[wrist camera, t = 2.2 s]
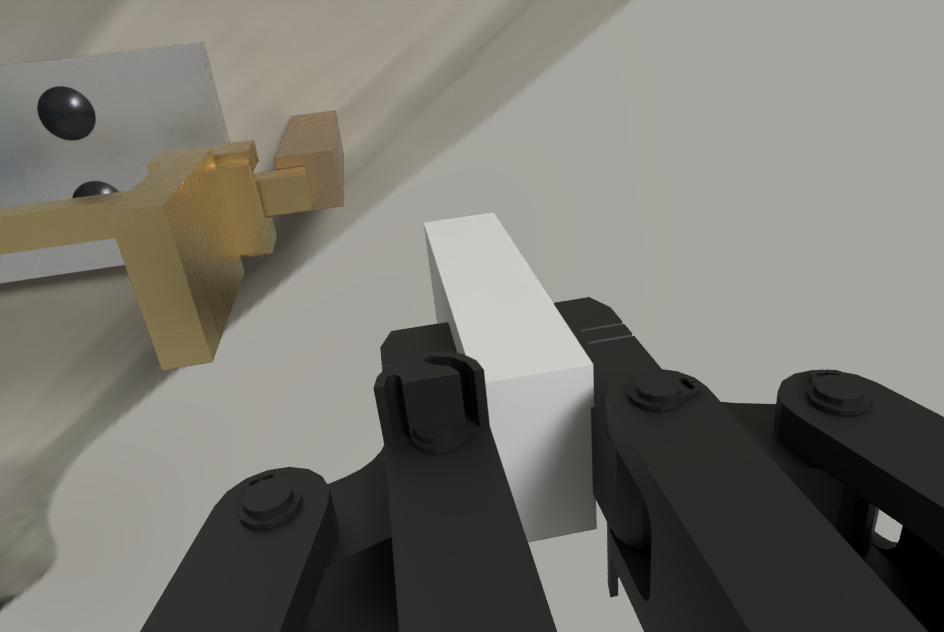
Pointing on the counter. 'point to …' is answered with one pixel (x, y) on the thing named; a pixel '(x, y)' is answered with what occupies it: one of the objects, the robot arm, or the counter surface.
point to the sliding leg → (191, 244)
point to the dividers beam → (281, 191)
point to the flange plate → (97, 135)
